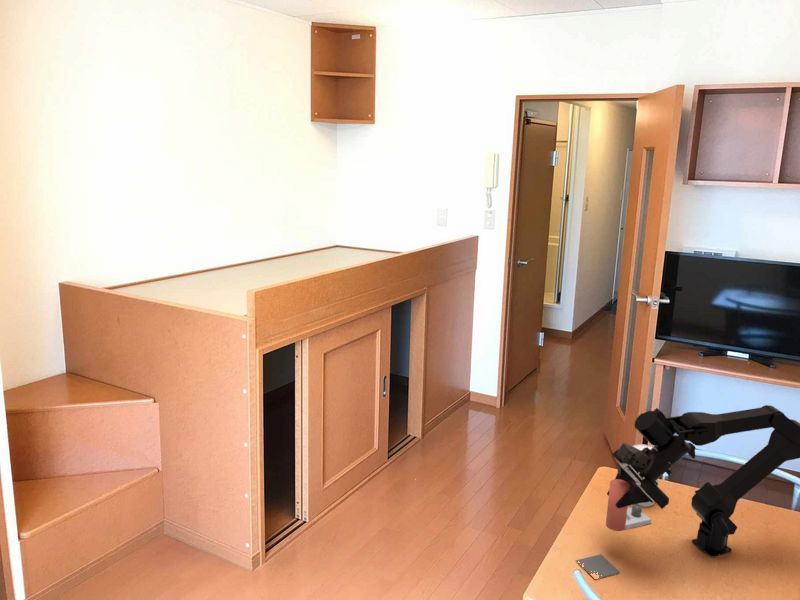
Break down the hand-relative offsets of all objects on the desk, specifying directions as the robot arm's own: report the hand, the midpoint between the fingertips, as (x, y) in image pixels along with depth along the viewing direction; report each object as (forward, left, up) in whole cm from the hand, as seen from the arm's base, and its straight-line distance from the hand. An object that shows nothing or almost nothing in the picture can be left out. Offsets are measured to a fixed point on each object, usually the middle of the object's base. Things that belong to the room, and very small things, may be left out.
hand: (612, 501), depth 151 cm
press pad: (+6, +4, -13) cm, 15 cm away
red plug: (-1, 0, -7) cm, 7 cm away
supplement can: (-23, -16, -14) cm, 31 cm away
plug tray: (-14, -9, -13) cm, 22 cm away
